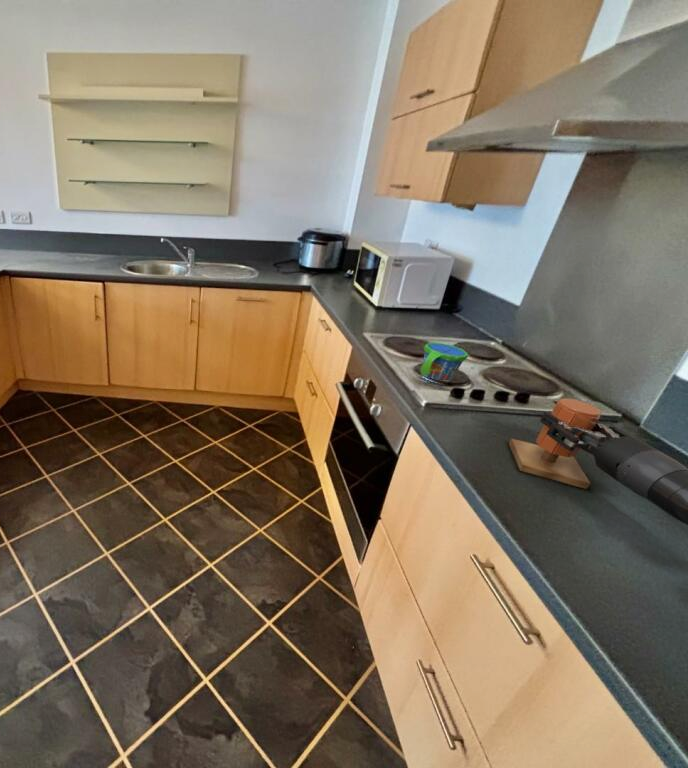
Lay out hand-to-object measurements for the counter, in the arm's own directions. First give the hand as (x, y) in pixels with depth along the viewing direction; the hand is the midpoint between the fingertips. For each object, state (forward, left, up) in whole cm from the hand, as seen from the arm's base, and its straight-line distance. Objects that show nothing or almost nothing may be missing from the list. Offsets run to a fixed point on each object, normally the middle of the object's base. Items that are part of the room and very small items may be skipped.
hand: (560, 417), depth 85 cm
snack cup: (+18, -32, -11) cm, 38 cm away
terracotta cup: (-1, +2, -6) cm, 6 cm away
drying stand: (-1, +2, -10) cm, 11 cm away
